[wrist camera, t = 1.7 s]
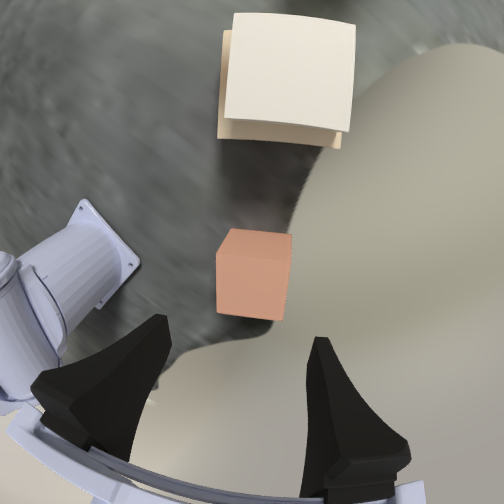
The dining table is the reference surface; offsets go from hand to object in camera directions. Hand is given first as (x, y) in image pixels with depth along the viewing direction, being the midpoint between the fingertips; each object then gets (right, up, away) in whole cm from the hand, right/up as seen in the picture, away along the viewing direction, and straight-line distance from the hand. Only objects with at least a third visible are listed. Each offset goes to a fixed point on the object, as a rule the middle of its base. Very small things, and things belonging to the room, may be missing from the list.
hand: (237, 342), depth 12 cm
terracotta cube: (+1, +4, +8) cm, 9 cm away
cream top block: (+3, +14, 0) cm, 14 cm away
